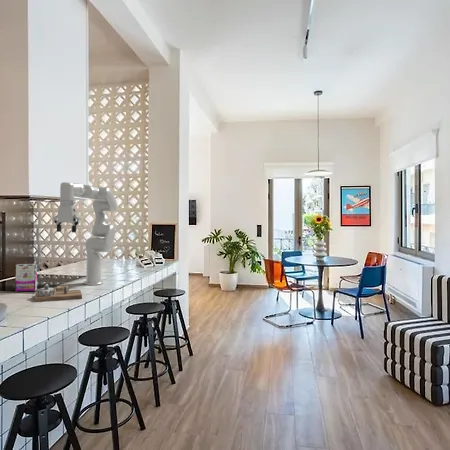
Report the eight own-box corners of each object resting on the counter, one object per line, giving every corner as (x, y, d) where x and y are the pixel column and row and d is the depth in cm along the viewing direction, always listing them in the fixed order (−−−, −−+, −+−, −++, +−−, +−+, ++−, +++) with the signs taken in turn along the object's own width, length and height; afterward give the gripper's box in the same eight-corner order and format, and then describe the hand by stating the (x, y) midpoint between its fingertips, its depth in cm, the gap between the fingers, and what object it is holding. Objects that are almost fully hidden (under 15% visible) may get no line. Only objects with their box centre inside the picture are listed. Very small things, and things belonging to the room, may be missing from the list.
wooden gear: (55, 290, 223) (55, 286, 223) (68, 290, 226) (68, 285, 226) (55, 293, 216) (55, 288, 216) (68, 292, 220) (68, 287, 219)
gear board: (35, 295, 210) (36, 283, 209) (80, 293, 220) (80, 281, 219) (34, 301, 196) (34, 289, 196) (81, 298, 206) (82, 286, 206)
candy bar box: (37, 289, 225) (37, 263, 224) (35, 291, 220) (35, 264, 220) (17, 290, 222) (17, 263, 221) (14, 291, 217) (15, 264, 216)
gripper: (83, 204, 217) (83, 232, 218) (57, 203, 220) (57, 231, 220) (76, 203, 210) (76, 233, 210) (49, 202, 212) (49, 231, 213)
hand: (66, 232), depth 215 cm, fingers open, 9 cm apart
